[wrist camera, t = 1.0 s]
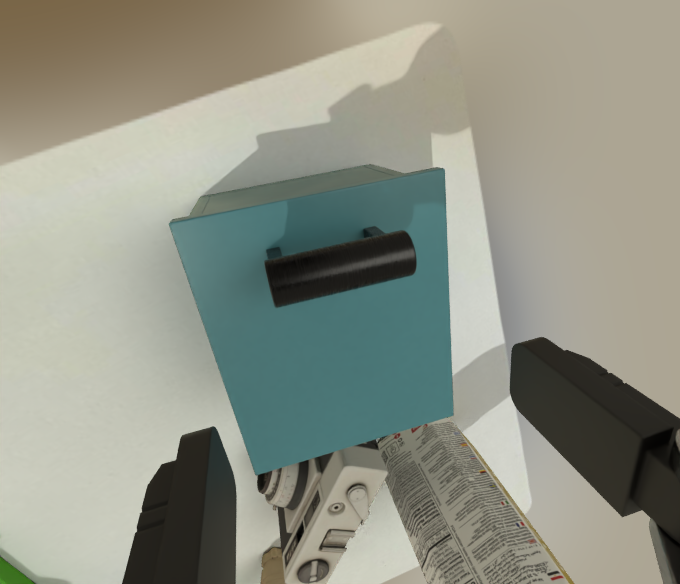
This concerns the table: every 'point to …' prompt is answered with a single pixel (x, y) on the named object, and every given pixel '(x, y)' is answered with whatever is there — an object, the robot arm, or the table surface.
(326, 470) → the camera
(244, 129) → the table surface
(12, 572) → the tape dispenser
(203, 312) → the lid
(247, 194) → the teal lidded chest
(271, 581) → the handle
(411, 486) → the juice carton
